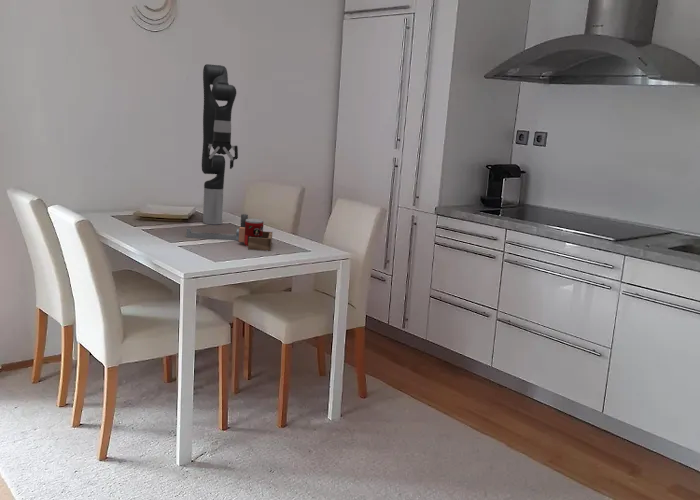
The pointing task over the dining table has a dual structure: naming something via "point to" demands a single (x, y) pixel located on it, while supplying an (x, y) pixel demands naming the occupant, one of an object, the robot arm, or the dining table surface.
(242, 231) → the grey block with post
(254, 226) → the canned food
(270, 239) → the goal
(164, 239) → the dining table surface
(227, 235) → the rail
